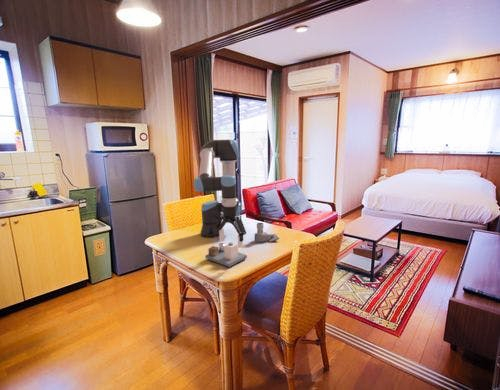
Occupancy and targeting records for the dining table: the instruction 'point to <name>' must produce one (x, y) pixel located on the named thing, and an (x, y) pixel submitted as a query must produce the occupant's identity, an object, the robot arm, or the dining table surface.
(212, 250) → the walnut part
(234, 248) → the plastic part
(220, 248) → the metal part
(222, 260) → the grey flat block
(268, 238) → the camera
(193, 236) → the dining table surface
